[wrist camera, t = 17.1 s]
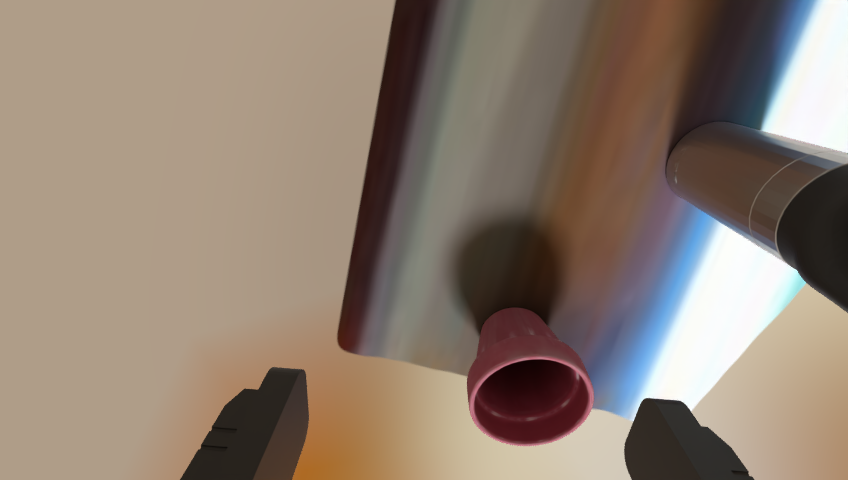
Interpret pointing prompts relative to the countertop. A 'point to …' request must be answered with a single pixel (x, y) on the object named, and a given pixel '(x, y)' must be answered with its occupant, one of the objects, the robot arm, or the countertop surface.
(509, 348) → the plant pot
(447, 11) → the countertop surface
